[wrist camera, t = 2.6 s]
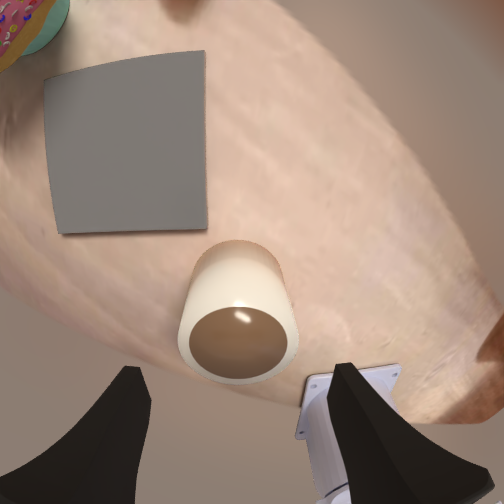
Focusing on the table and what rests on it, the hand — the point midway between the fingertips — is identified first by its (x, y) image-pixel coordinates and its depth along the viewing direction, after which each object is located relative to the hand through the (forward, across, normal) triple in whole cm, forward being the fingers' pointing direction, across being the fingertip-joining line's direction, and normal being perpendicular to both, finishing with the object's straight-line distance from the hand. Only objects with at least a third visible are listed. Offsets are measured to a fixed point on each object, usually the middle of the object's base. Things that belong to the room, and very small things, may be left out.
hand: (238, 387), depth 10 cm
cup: (+8, 0, 0) cm, 8 cm away
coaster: (+8, +6, -8) cm, 13 cm away
